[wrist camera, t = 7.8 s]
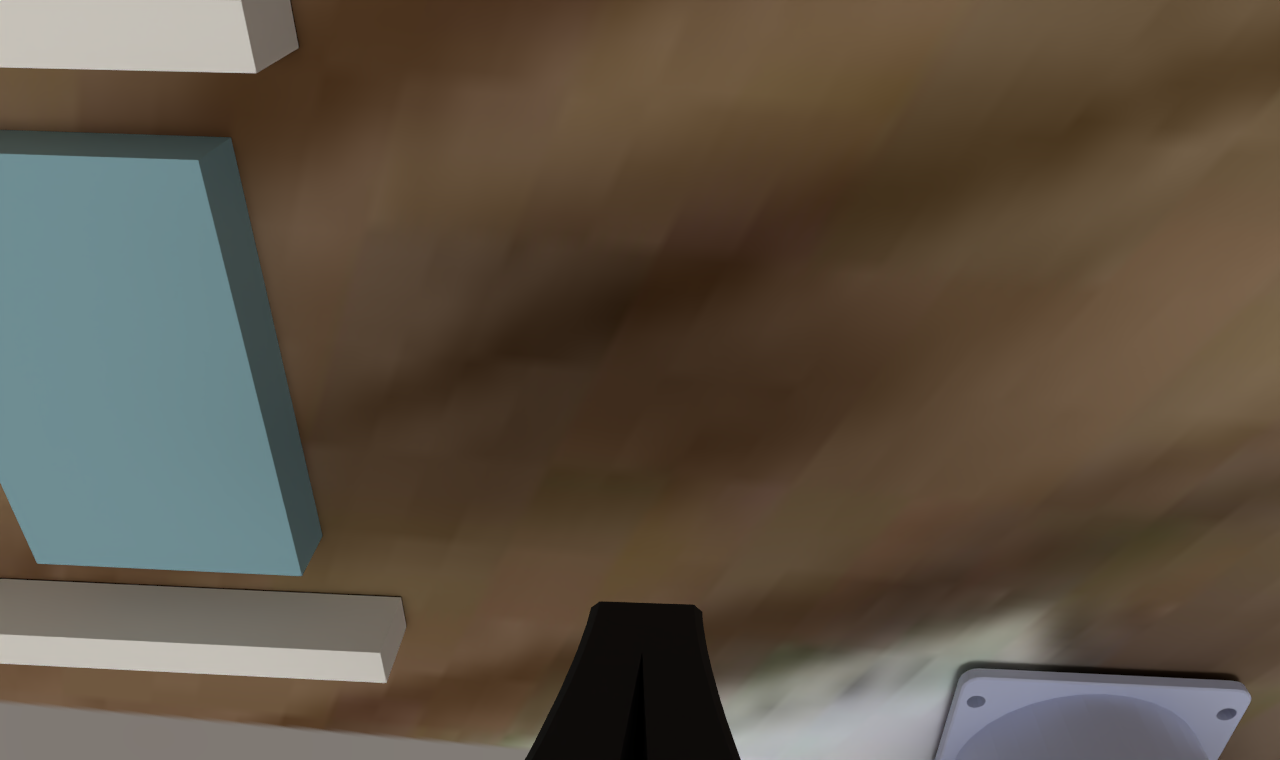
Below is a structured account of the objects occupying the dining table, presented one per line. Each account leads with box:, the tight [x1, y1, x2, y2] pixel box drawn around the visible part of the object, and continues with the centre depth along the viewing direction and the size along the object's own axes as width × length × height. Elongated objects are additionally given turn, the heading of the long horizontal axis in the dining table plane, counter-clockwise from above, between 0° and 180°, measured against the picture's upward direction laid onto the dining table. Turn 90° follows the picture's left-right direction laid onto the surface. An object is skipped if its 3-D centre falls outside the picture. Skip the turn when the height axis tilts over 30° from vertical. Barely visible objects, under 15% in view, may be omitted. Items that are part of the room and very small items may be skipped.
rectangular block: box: [0, 130, 322, 576], centre depth 21 cm, size 11×7×2 cm, turn 179°
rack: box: [0, 0, 406, 683], centre depth 21 cm, size 17×13×3 cm
